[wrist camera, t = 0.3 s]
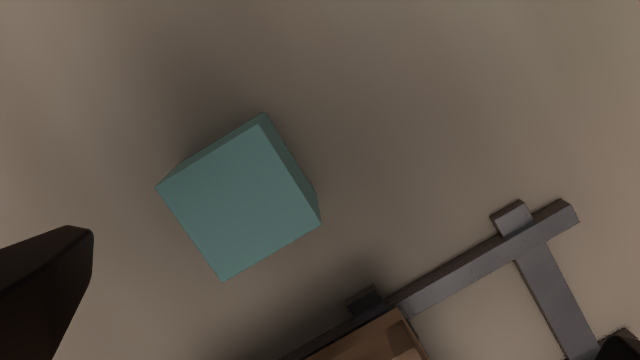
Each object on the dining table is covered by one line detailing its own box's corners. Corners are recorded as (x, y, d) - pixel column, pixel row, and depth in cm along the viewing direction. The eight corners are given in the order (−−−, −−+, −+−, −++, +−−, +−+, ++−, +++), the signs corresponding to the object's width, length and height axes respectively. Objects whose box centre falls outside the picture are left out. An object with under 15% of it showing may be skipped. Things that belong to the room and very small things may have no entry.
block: (234, 242, 25) (222, 283, 20) (179, 163, 24) (154, 187, 19) (316, 194, 24) (321, 224, 20) (264, 111, 23) (257, 123, 19)
